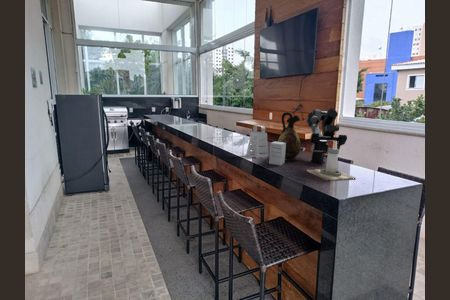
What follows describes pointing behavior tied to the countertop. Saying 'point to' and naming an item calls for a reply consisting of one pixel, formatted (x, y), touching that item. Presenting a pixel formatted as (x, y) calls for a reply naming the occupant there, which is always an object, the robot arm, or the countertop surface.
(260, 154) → the grater
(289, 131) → the ceramic jug
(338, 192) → the countertop surface
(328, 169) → the cylinder
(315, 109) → the robot arm
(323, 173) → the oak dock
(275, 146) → the supplement box
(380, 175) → the countertop surface
